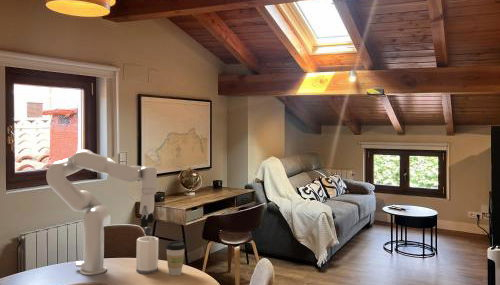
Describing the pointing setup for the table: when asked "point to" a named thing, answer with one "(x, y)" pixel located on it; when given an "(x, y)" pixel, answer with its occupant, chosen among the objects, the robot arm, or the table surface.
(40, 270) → the table surface
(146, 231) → the plunger
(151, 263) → the coffee press
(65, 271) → the table surface
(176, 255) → the coffee cup
